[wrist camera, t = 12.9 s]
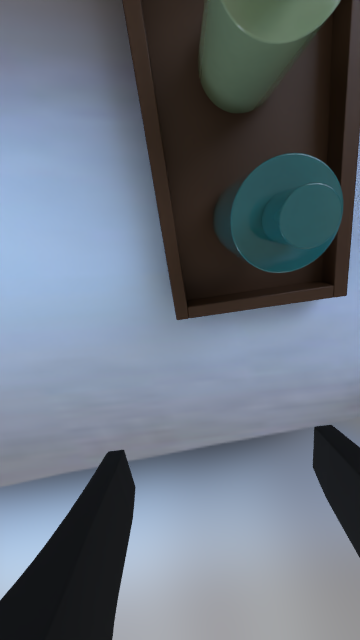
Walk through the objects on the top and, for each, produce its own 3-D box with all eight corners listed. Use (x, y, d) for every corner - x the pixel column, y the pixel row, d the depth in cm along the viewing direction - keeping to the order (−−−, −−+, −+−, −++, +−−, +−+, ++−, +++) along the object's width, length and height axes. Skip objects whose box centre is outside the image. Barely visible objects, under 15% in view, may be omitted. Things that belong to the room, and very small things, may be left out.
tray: (363, -427, 9) (421, -630, 7) (327, 286, 18) (346, 295, 16) (67, -343, 10) (36, -505, 7) (176, 308, 19) (176, 320, 17)
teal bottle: (284, 171, 15) (391, 122, 7) (285, 249, 16) (373, 274, 9) (208, 184, 15) (237, 150, 8) (216, 260, 17) (246, 293, 9)
